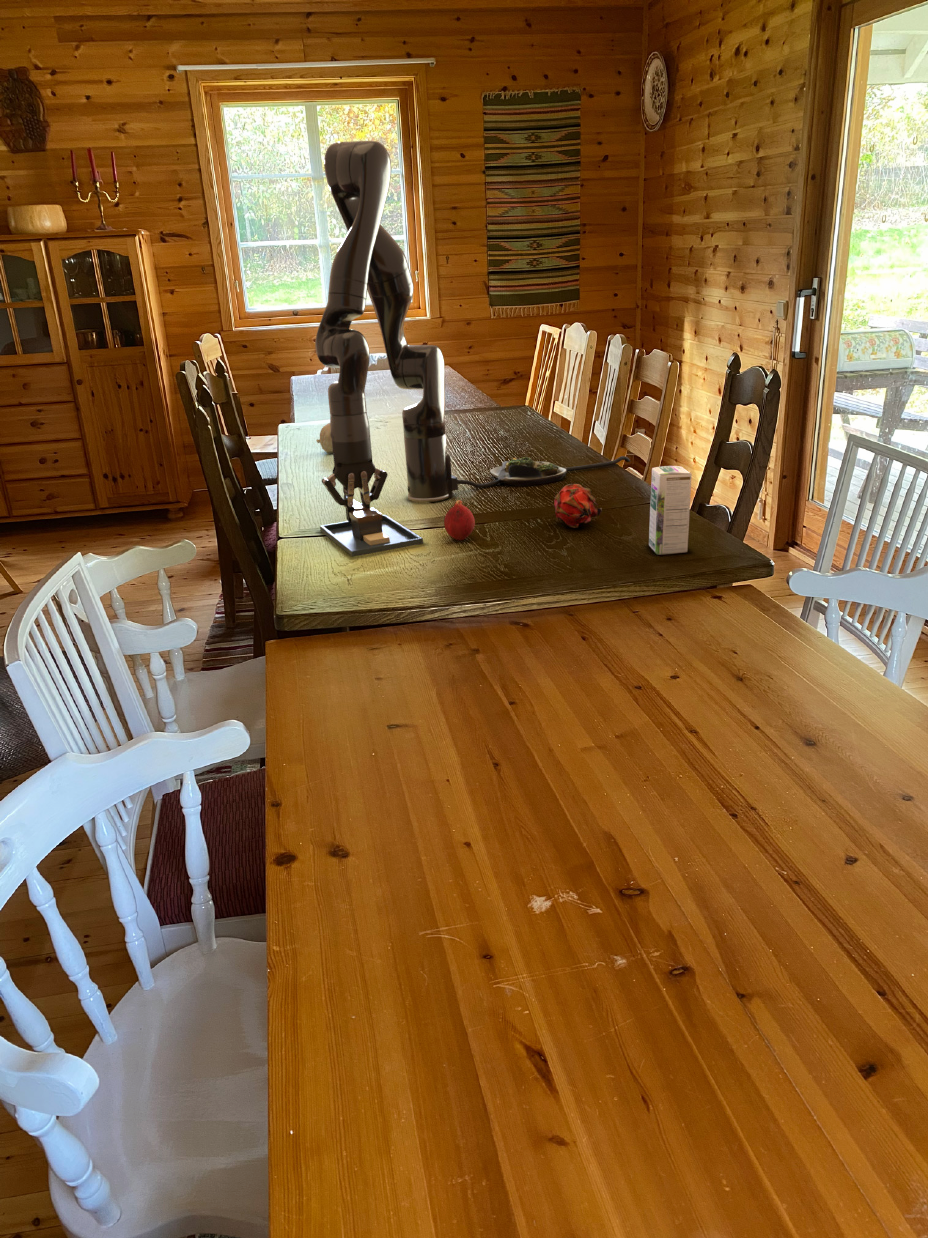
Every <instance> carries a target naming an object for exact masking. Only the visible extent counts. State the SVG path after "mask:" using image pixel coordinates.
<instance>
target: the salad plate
mask: <svg viewBox="0 0 928 1238" xmlns="http://www.w3.org/2000/svg"><path fill="white" fill-rule="evenodd" d="M564 468H565V467H561V466H559V465H556V464H555V463H551V462H548V461H535V460H533V459H532V458H530V457H528V456H524V457H521V458H516V457H512V458H511V459H510V460H508V461H506V460H505V461H502V464H501V466H496V467H493V468H491V469H490V474H491V476H493V477H495V478H496V479H497V480H501V481H503V482H504V484H505V485H508V486H514V487H527V486H536V485H537V486H538V485H544V484H550V483H555V482H558V481H561V480H562V479H563V478H564V477H565V476H566V474H567V472H566V469H564Z"/></svg>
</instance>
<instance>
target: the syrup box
mask: <svg viewBox="0 0 928 1238" xmlns="http://www.w3.org/2000/svg"><path fill="white" fill-rule="evenodd" d="M692 476H693V475H692V472H690V471H688V470H687V469H686V468H685V467H683V466H681V465H680V466H678V465H664V466H663V465H662V466H656V467H652V468H651V487H650V505H649V506H650V507H649V529H648V546H649V547H650V549H651V550H652V551H653V552H654V553H655V554H656V555H659V556H660V555H661V556H662V555H674V554H682V553H683V554H684V553H688V547H689V534H690V533H689V531H690V510H691V496H692V495H691V494H692Z"/></svg>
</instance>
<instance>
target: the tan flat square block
mask: <svg viewBox="0 0 928 1238" xmlns="http://www.w3.org/2000/svg"><path fill="white" fill-rule="evenodd" d="M363 539H364V541H365V542H366V543H368V544H369V545H376V544H382V543H387V542H390V538H389V537H388V536H387V535H386V534H384V533H383V532H381V533H375V534H369V535H364V536H363Z"/></svg>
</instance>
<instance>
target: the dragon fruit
mask: <svg viewBox="0 0 928 1238" xmlns="http://www.w3.org/2000/svg"><path fill="white" fill-rule="evenodd" d="M592 493H593V492H592V490H591V488H589V487H583V486H582V485H581V484H579V483H569V484H566V485H564V486H563V487H562V488H561V489H560V491H559V492H558V493H557V494H556V495H555V496H554V500H553V501H554V502H553V508H555V511H554V514H555V515H554V516H555V518H556V521H557V522H558V523H560V522H564V523H565V524H566V525H567V526H568V527H569V528H572V529H579V528H580V527H579V525H580V524H586V525H587V524H589V523H590V522H591V521H592V518H595V517H598V516H600V515H601V514H602V511H603V510H602V507H599V508H598V506H599V505H598V503H597V500H596V498H595V496H594V495H592ZM596 506H597V507H596Z"/></svg>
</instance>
